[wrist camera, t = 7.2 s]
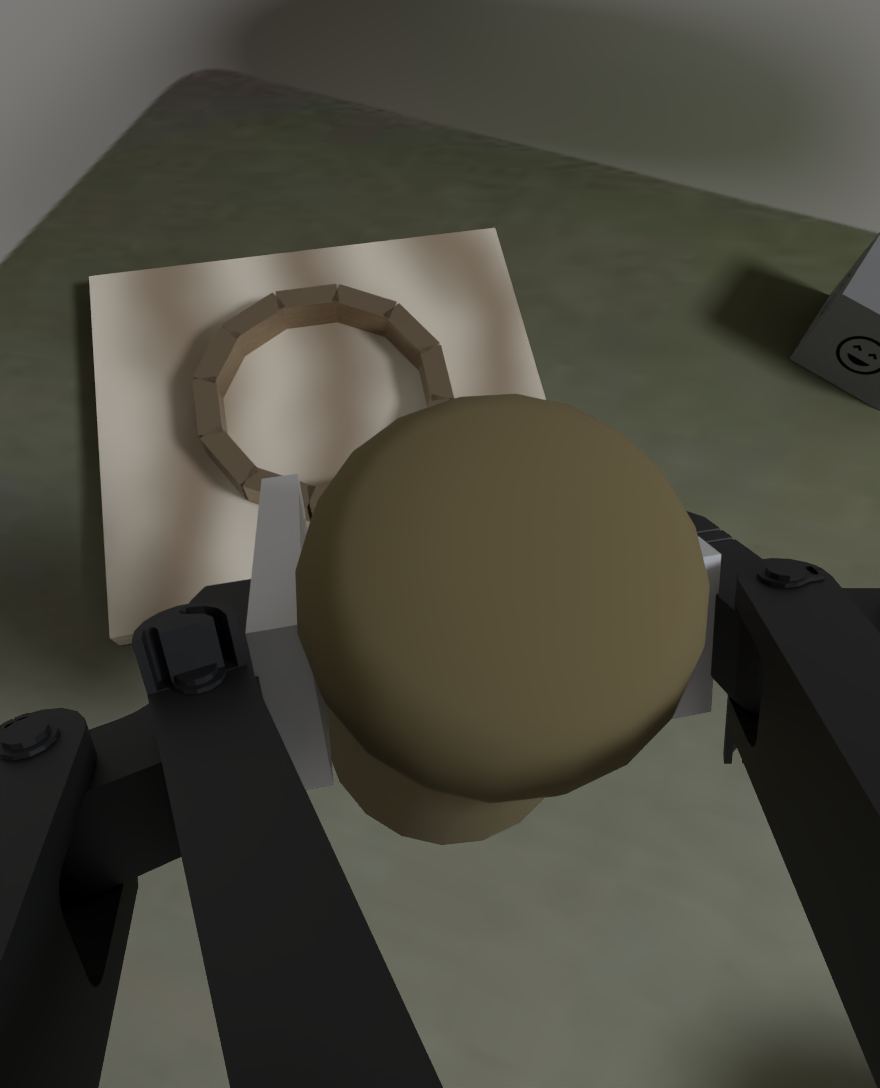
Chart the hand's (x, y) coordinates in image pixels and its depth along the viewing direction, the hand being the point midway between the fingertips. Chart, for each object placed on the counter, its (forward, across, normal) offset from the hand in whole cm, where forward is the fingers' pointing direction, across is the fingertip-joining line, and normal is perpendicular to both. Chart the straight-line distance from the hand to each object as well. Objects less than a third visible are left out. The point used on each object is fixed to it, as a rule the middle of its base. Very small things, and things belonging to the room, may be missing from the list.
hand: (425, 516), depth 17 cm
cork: (0, 0, -5) cm, 5 cm away
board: (+20, -2, -3) cm, 20 cm away
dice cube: (+20, +25, -3) cm, 32 cm away
